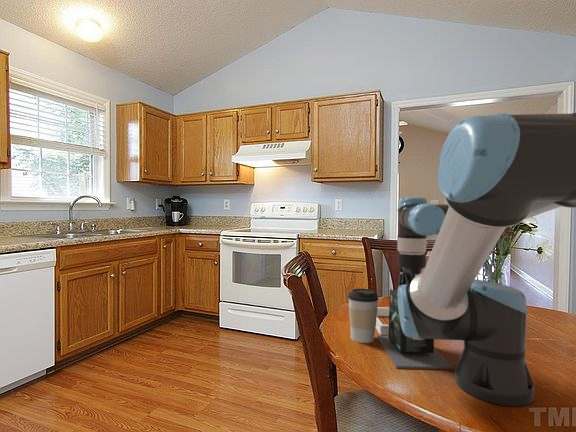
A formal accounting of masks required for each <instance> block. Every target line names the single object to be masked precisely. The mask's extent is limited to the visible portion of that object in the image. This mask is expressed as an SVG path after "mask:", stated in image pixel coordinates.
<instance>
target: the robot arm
mask: <svg viewBox="0 0 576 432" xmlns="http://www.w3.org/2000/svg"><path fill="white" fill-rule="evenodd" d="M438 161H439V166H438V168H437V184H438V188H439V189H438V190H439V191H440V193H441V195H442V196H443V198H444V200H445V202H446V204H444V203H443V204H440V203H439V204H438V203H437V204H436V203H435V204H434V203H428V200H427V199H426V198H425V197H417V196H416V197H411V196H409V197H401V198H400V199H399V200H398V206H397V207H398V208H397V244H396V245H397V246H396V247H397V251H398V253H397V256H396V257H397V263H396V264H397V265H396V266H398V267H399V268H398V269H399V273H398V274H399V275H398V281H397V282H398V283H397V288H396V290H398V292H397V297H398V310H399V318H400V324H401V328H402V331H403V333H404V335H405V336H407V337H409V338H412V339H413V340H424V339H434V340H440V341H441V340H443V341H444V340H445V341H463V349H462V351H461V354H460V357H458V358H459V359H458V361H457V363H456V366H455V369H454V382H455V383H456V385H457V386H458V387H459V388H460V389H461V390H463V391H464V392H466V393H467V394H469V395H471V396H472V397H475V398H478V399H479V400H482V401H485V402H489V403H491V404H495V405H501V406H505V407H506V406H508V407H522V406H528V405H530V404H532V403H533V402H534V401H535V391H536V390H535V385H534V382H533V377H532V376H531V373H530V370H529V368H528V367H529V366H528V364H527V361H526V341H527V338H526V337H527V314H528V309H527V308H528V306H527V298H526V295H525V293H524V292H522V291H521V290H519V289H517V288H515V287H512V286H509V285H505V284H502V283H498V282H492V281H487V280H482V279H476V277H477V276H478V274H479V273H480V271H481V270H482V268H483V266H484V265H485V263H486V261H487V259H488V258H489V256H490V254H491V253H492V251H493V249H494V248H495V246H496V245H497V243H498V241H500V238H501V236H502V234H503V233H504V231H505V230H506V229H507V228H510V227H515V226H517V225H519V224H521V223H522V222H523V221H524V220H527V219H530V218H533V217H536V216H539V215H541V214H544V213H546V212H549V211H552V210H556V209H558V208H561V207H563V208H570V209H574V208H575V209H576V112H573V113H535V114H533V113H532V114H530V113H529V114H510V113H503V112H496V113H492V114H491V113H490V114H488V115H474V116H469V117H468V118H466V119H463V120H462V121H460V122H459V123H457V124H456V125H455V126H454V127H453V128H452V129H451V131H449V134H448V136H447V137H446V139H445V141H444V143H443V146H442V148H441V152H440V153H439V158H438ZM436 235H437V236H436ZM427 236H428V237H429V236H430V237H431V236H436V239H435V242H434V244H433V247H432V249H431V252H430V255H429V258H428V260H427V255H426V254H425V253H426V252H427V245H428V244H429V242H428V240H427ZM421 269H424V270H423V272H421V271H420V270H421Z"/></svg>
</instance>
